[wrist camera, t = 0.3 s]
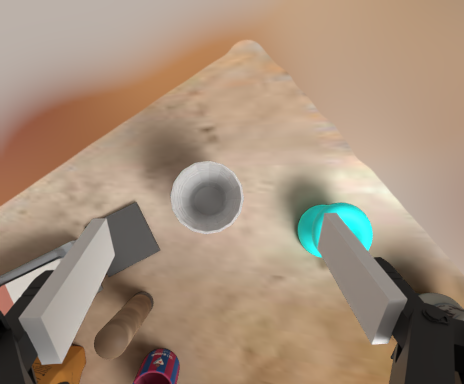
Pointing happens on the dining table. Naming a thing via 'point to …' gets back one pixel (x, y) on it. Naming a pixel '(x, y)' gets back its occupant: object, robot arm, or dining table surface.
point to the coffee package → (62, 368)
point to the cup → (158, 368)
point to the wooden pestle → (123, 326)
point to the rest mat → (129, 238)
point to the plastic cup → (207, 197)
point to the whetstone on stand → (38, 264)
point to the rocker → (21, 286)
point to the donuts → (347, 212)
